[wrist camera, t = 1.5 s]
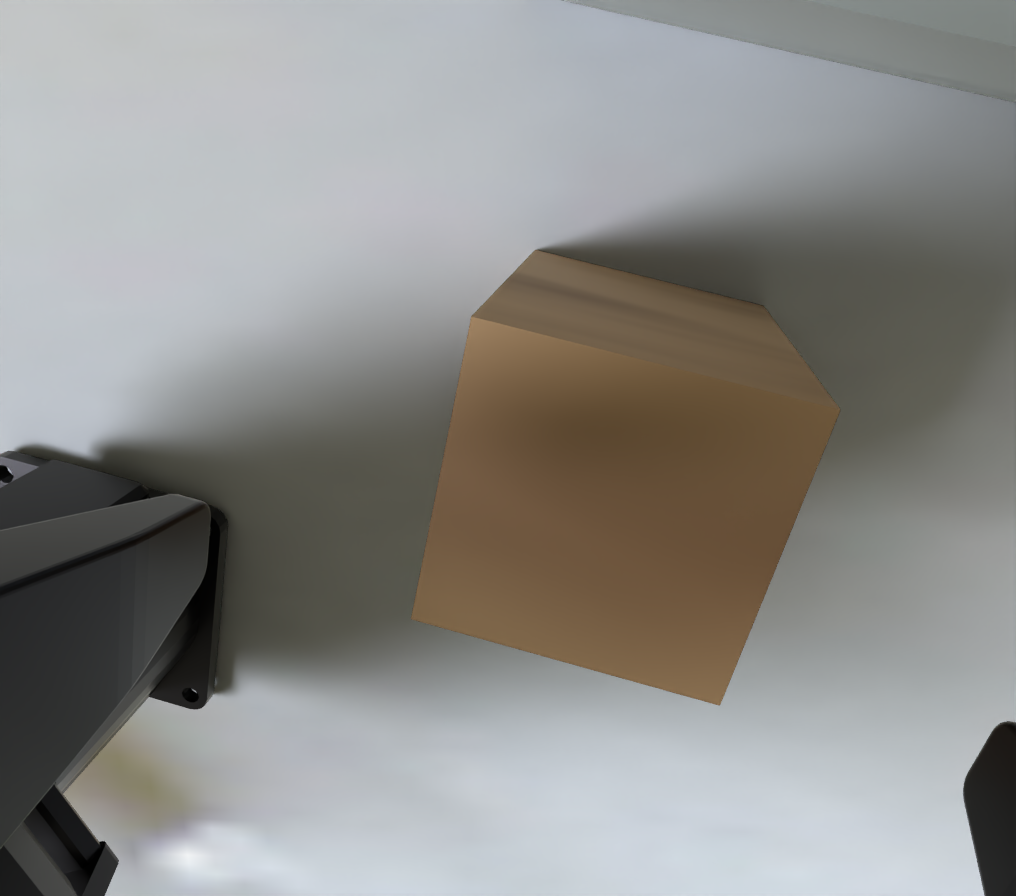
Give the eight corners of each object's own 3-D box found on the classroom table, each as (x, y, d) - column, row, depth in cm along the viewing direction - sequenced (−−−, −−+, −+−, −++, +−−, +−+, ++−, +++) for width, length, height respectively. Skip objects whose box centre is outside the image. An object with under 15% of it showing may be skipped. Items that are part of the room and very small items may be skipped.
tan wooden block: (692, 510, 19) (719, 705, 12) (489, 456, 19) (411, 619, 12) (763, 305, 17) (840, 409, 10) (535, 249, 17) (470, 316, 11)
